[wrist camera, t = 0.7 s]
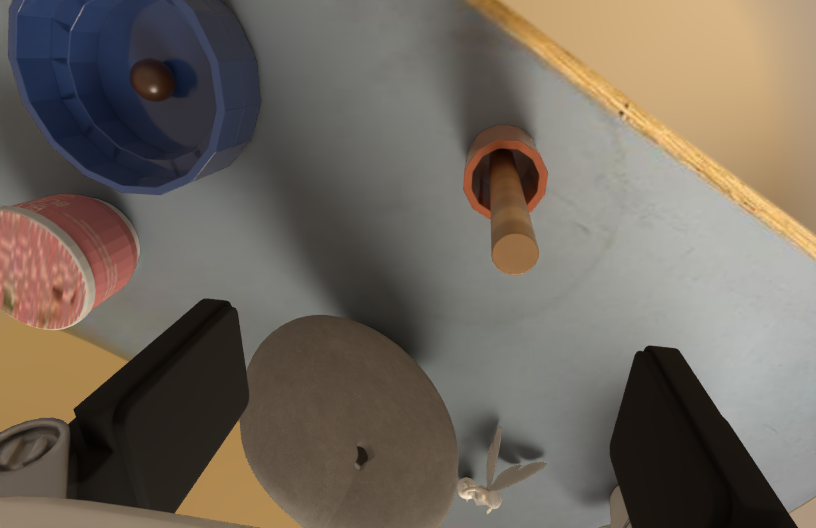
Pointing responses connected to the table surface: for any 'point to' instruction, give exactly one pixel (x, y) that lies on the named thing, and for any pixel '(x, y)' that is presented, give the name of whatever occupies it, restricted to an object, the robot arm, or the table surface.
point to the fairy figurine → (505, 479)
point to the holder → (525, 159)
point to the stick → (510, 217)
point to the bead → (152, 80)
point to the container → (63, 258)
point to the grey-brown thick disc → (347, 429)
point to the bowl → (117, 100)
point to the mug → (618, 511)
